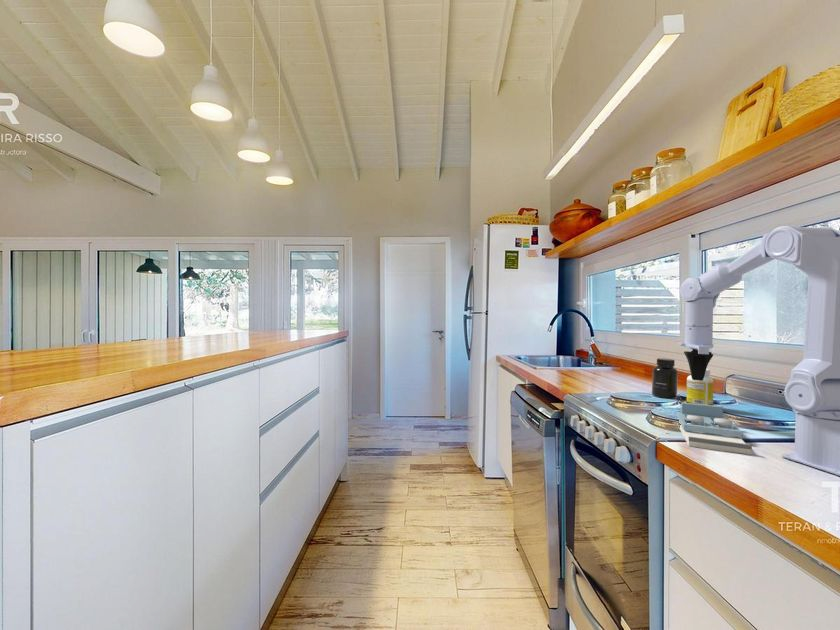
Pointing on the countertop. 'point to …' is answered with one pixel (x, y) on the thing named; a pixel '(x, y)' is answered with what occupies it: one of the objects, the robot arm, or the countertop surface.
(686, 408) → the panel
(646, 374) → the countertop surface
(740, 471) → the countertop surface
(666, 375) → the supplement bottle
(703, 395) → the pill bottle
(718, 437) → the boss board
